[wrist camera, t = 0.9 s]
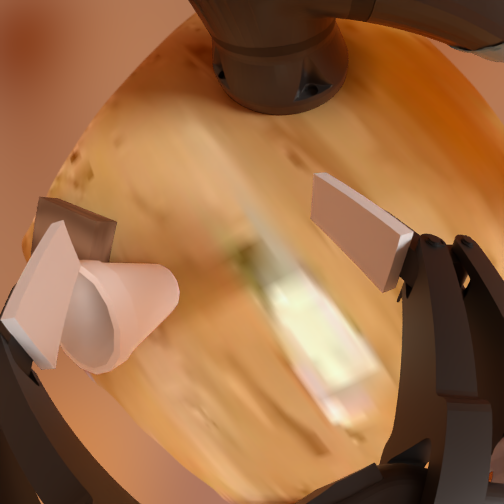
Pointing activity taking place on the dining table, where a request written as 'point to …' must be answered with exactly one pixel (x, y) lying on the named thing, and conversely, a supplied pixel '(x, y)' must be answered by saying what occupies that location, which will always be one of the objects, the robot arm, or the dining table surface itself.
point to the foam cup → (115, 311)
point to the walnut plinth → (76, 228)
